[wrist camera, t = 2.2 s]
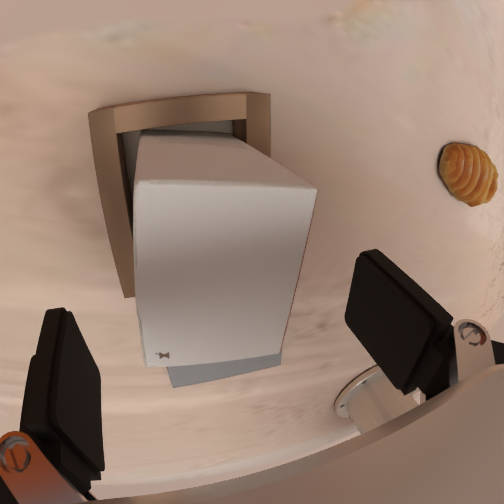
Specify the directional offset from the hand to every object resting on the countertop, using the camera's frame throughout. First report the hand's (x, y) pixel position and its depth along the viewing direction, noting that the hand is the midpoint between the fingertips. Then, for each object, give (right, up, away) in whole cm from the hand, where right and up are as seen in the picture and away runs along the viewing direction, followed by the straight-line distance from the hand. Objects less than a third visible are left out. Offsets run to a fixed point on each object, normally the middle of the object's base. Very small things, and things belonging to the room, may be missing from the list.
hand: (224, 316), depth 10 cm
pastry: (+24, +11, +21) cm, 34 cm away
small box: (-4, +7, +13) cm, 15 cm away
